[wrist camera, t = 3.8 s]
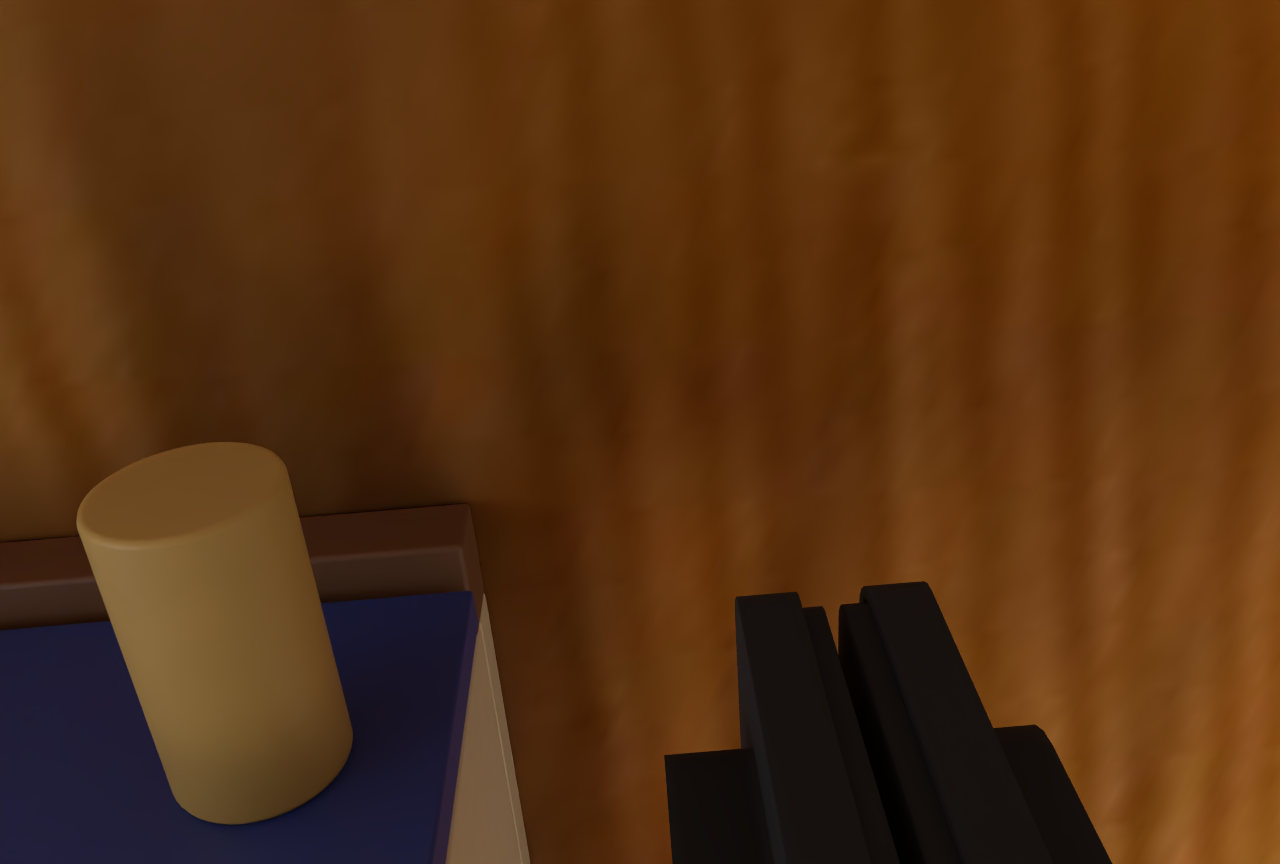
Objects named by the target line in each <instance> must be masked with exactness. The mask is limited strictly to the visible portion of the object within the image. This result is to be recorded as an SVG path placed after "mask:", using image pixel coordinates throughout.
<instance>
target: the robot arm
mask: <svg viewBox="0 0 1280 864" xmlns="http://www.w3.org/2000/svg"><path fill="white" fill-rule="evenodd" d="M735 621H736V644H737V666H738V689H739V711H740V734H741V749H734V750H721V751H709V752H697V753H685V754H673V755H664V756H665V770H666V783H667V796H668V809H669V822H670V835H671V848H672V861H673V864H1112V862H1111V860H1110V858H1109V856H1108V854H1107V852H1106V850H1105V848H1104V846H1103V844H1102V842H1101V840H1100V839H1099V837H1098V835H1097V833H1096V831H1095V829H1094V827H1093V825H1092V823H1091V821H1090V819H1089V817H1088V815H1087V813H1086V811H1085V809H1084V807H1083V805H1082V803H1081V801H1080V799H1079V797H1078V795H1077V793H1076V791H1075V789H1074V787H1073V785H1072V783H1071V781H1070V779H1069V777H1068V775H1067V773H1066V771H1065V769H1064V767H1063V765H1062V763H1061V761H1060V759H1059V757H1058V755H1057V753H1056V751H1055V749H1054V747H1053V745H1052V743H1051V742H1050V740H1049V739H1048V737H1047V736H1046V734H1045V732H1044V731H1043V730H1042V729H1040V728H1039V727H1038V726H1036V725H1026V726H1014V727H1002V728H993V727H992V725H991V722H990V720H989V718H988V716H987V713H986V711H985V709H984V707H983V704H982V702H981V700H980V698H979V696H978V693H977V691H976V689H975V687H974V684H973V682H972V680H971V678H970V675H969V673H968V671H967V669H966V666H965V664H964V662H963V660H962V657H961V655H960V653H959V651H958V648H957V646H956V644H955V642H954V639H953V637H952V635H951V633H950V630H949V628H948V626H947V624H946V622H945V619H944V617H943V615H942V613H941V610H940V608H939V606H938V604H937V601H936V599H935V597H934V595H933V592H932V590H931V588H930V587H929V585H928V583H926V582H924V581H922V582H909V583H897V584H885V585H873V586H864V587H863V588H862V589H861V593H860V601H859V603H855V604H843V605H841V606H840V609H839V632H838V653H837V650H836V646H835V643H834V640H833V636H832V633H831V630H830V626H829V623H828V620H827V616H826V613H825V610H824V608H823V607H822V606H819V607H807V608H802V605H801V601H800V598H799V595H798V593H797V592H788V593H776V594H764V595H752V596H740V597H736V599H735Z"/></svg>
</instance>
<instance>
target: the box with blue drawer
mask: <svg viewBox="0 0 1280 864" xmlns="http://www.w3.org/2000/svg"><path fill="white" fill-rule="evenodd" d="M299 519H300V523H301V527H302V531H303V535H304V539H305V543H306V547H307V551H308V555H309V559H310V563H311V567H312V571H313V575H314V578H315V582H316V586H317V590H318V594H319V598H320V602H321V603H329V602H341V601H353V600H364V599H376V598H388V597H400V596H412V595H423V594H435V593H447V592H459V591H472V593H473V596H474V602H475V608H476V613H477V619H478V629H477V636H476V643H475V651H474V658H473V665H472V673H471V680H470V687H469V695H468V702H467V709H466V717H465V724H464V731H463V739H462V746H461V753H460V761H459V768H458V775H457V783H456V790H455V797H454V805H453V812H452V820H451V827H450V834H449V842H448V849H447V856H446V864H530V858H529V852H528V846H527V840H526V834H525V828H524V822H523V816H522V810H521V804H520V798H519V792H518V786H517V781H516V775H515V769H514V763H513V757H512V751H511V745H510V739H509V733H508V727H507V721H506V715H505V709H504V703H503V697H502V691H501V685H500V679H499V673H498V667H497V661H496V655H495V649H494V643H493V638H492V632H491V626H490V620H489V614H488V608H487V602H486V596H485V594H484V586H483V580H482V574H481V568H480V562H479V556H478V550H477V544H476V538H475V532H474V526H473V520H472V514H471V509H470V507H469V506H468V504H456V505H444V506H432V507H421V508H409V509H397V510H385V511H373V512H362V513H350V514H338V515H326V516H314V517H302V518H299ZM105 621H110V618H109V615H108V612H107V610H106V607H105V604H104V601H103V599H102V596H101V593H100V590H99V587H98V585H97V582H96V579H95V576H94V574H93V571H92V568H91V565H90V563H89V560H88V557H87V554H86V551H85V549H84V546H83V543H82V540H81V538H80V536H78V537H66V538H54V539H42V540H30V541H18V542H7V543H0V630H10V629H22V628H34V627H45V626H57V625H69V624H81V623H93V622H105Z"/></svg>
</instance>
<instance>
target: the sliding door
mask: <svg viewBox="0 0 1280 864" xmlns="http://www.w3.org/2000/svg"><path fill="white" fill-rule="evenodd" d="M76 524H77V529H78V532H79V535H80V538H81V540H82V543H83V546H84V549H85V551H86V554H87V557H88V560H89V563H90V565H91V568H92V571H93V574H94V576H95V579H96V582H97V585H98V587H99V590H100V593H101V596H102V599H103V601H104V604H105V607H106V610H107V612H108V615H109V618H110V621H105V622H93V623H81V624H69V625H57V626H45V627H34V628H22V629H10V630H0V864H446V856H447V849H448V842H449V834H450V827H451V820H452V812H453V805H454V797H455V790H456V783H457V775H458V768H459V761H460V753H461V746H462V739H463V731H464V724H465V717H466V709H467V702H468V695H469V687H470V680H471V673H472V665H473V658H474V651H475V643H476V636H477V629H478V619H477V613H476V608H475V602H474V596H473V593H472V591H459V592H447V593H435V594H423V595H412V596H400V597H388V598H376V599H364V600H353V601H341V602H329V603H321V602H320V598H319V594H318V590H317V586H316V582H315V578H314V575H313V571H312V567H311V563H310V559H309V555H308V551H307V547H306V543H305V539H304V535H303V531H302V527H301V523H300V519H299V515H298V511H297V507H296V503H295V499H294V495H293V491H292V487H291V483H290V479H289V475H288V471H287V467H286V466H285V464H284V462H283V461H282V460H281V459H280V458H279V457H278V456H277V455H276V454H275V453H274V452H272V451H271V450H269V449H266V448H264V447H261V446H258V445H254V444H249V443H241V442H211V443H202V444H195V445H190V446H184V447H180V448H175V449H172V450H168V451H164V452H161V453H158V454H155V455H152V456H149V457H147V458H144V459H141V460H139V461H137V462H134V463H132V464H130V465H128V466H126V467H124V468H122V469H120V470H118V471H117V472H115V473H113V474H112V475H110V476H108V477H107V478H105V479H104V480H103V481H101V482H100V483H99V484H97V485H96V486H95V487H94V488H93V489H92V490H91V491H90V492H89V493H88V494H87V495H86V497H85V498H84V499H83V501H82V502H81V504H80V507H79V509H78V513H77V521H76Z"/></svg>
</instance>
